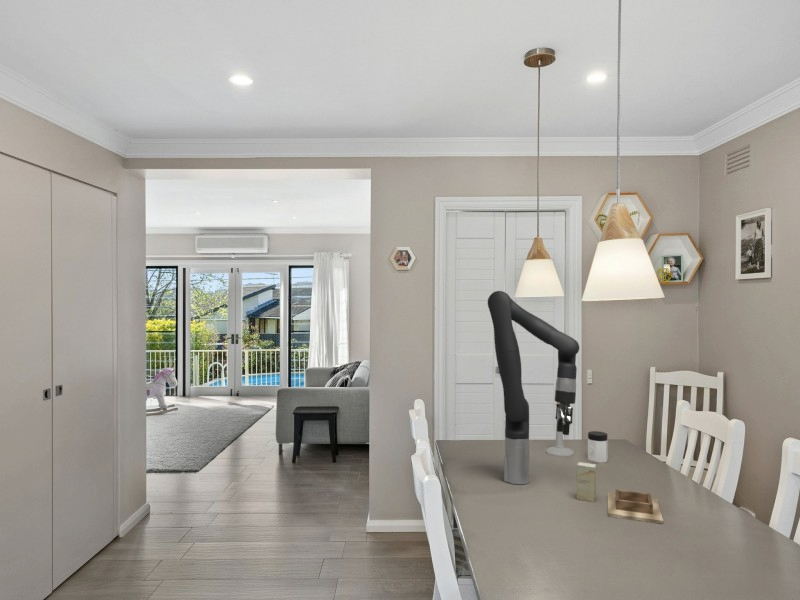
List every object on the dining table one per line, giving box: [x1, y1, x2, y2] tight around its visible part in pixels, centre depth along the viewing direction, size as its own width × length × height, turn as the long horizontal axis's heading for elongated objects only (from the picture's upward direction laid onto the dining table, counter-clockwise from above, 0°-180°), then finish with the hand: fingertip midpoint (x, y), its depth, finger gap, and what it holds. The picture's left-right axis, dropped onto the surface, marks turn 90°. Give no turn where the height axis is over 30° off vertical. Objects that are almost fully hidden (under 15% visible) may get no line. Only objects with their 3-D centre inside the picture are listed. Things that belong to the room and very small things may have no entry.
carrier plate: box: [607, 489, 664, 524], centre depth 171 cm, size 16×20×4 cm
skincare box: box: [576, 461, 597, 503], centre depth 181 cm, size 6×4×12 cm
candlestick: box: [545, 402, 575, 457], centre depth 240 cm, size 13×13×30 cm
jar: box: [587, 430, 609, 464], centre depth 228 cm, size 9×8×12 cm
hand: (562, 433), depth 192 cm, fingers open, 8 cm apart
